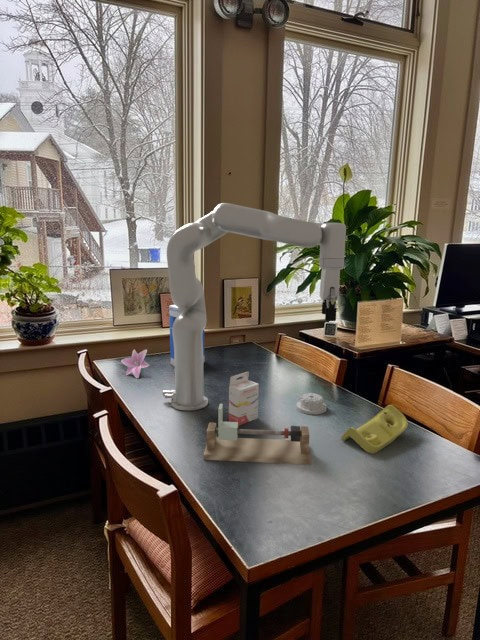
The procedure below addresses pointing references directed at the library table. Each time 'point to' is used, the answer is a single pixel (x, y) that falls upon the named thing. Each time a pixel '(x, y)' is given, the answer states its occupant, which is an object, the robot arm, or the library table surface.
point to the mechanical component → (311, 404)
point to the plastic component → (378, 430)
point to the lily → (135, 363)
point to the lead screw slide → (260, 446)
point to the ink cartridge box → (243, 399)
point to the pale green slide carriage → (226, 427)
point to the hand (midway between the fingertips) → (328, 317)
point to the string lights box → (173, 315)
